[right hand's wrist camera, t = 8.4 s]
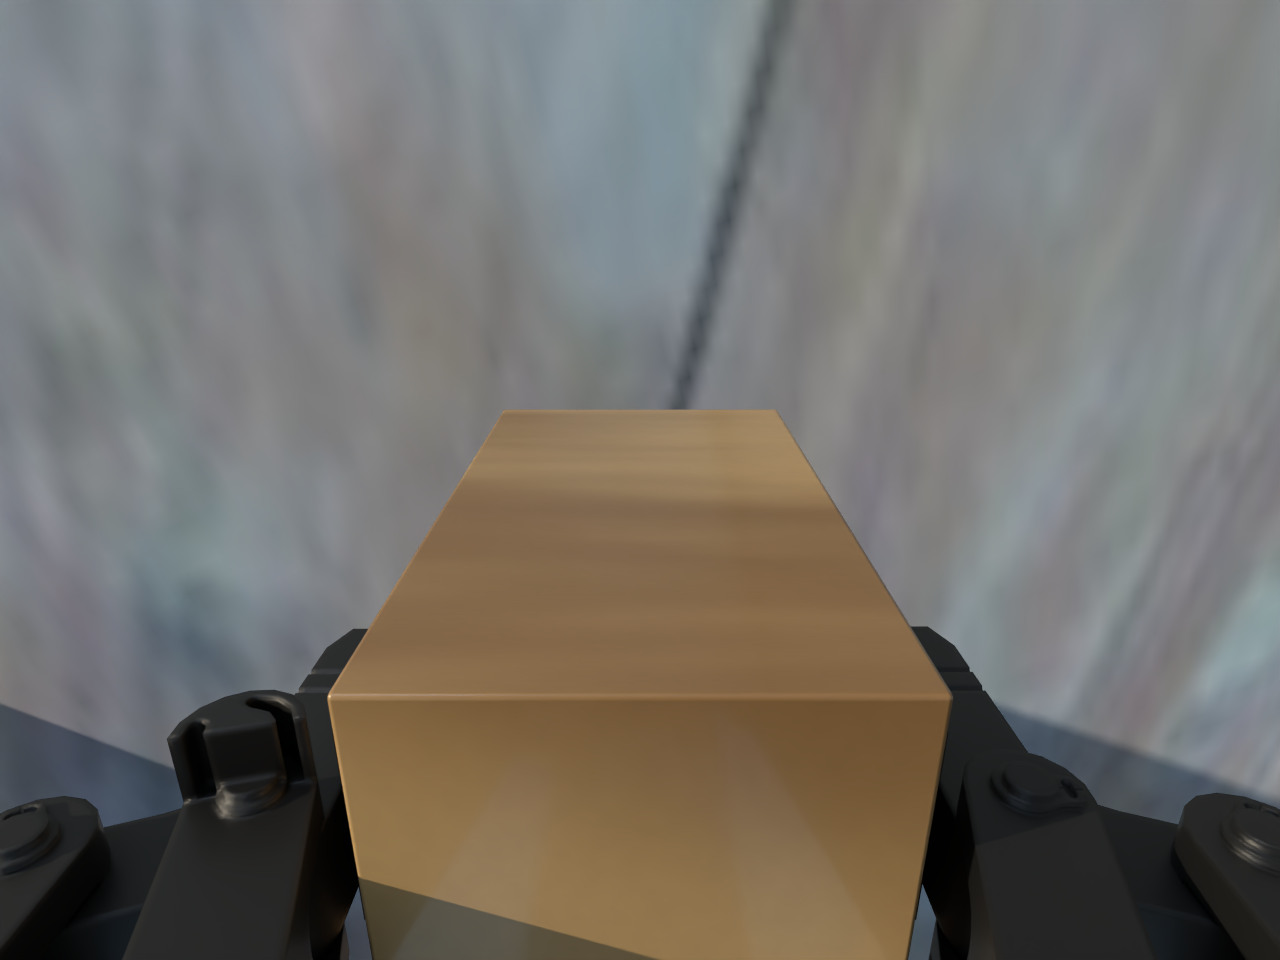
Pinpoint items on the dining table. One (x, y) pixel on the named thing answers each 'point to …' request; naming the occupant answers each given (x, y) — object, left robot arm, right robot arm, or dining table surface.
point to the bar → (640, 709)
